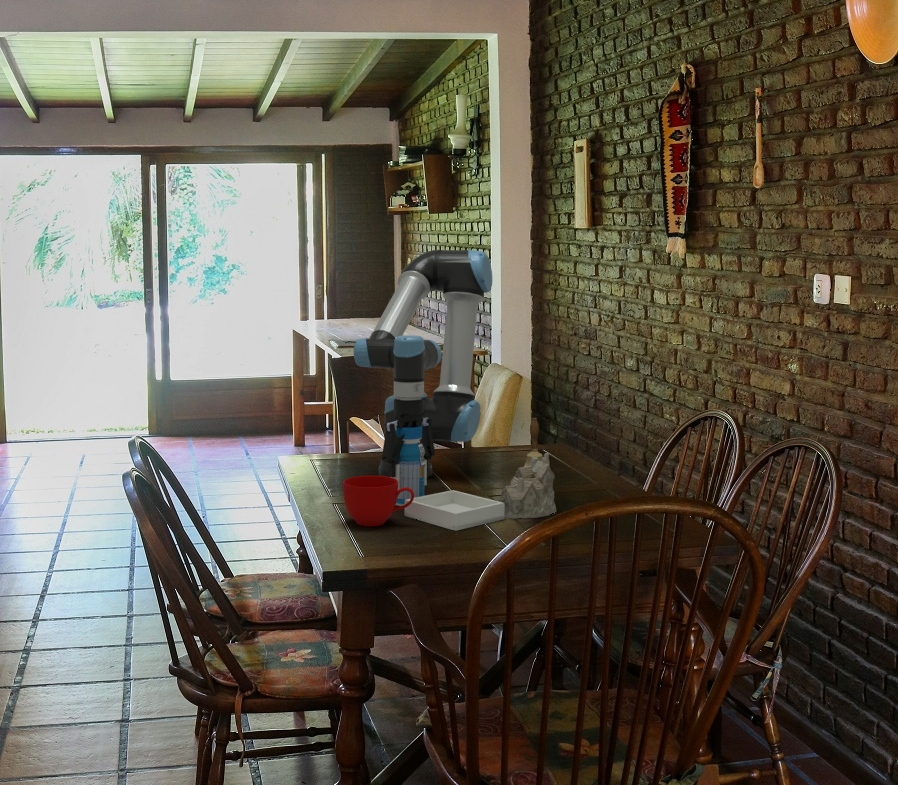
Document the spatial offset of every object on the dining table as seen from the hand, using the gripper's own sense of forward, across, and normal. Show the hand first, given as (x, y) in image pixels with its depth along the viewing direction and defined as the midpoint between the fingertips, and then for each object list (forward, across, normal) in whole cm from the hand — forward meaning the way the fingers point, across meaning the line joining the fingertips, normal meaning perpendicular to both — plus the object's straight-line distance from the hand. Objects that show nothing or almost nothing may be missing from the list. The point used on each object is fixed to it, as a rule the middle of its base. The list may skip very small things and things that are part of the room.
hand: (408, 486), depth 278 cm
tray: (+4, -1, -18) cm, 19 cm away
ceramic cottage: (+5, +17, -24) cm, 30 cm away
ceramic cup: (+5, -18, -10) cm, 21 cm away
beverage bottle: (+5, 0, 0) cm, 5 cm away
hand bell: (+5, +52, +5) cm, 52 cm away
